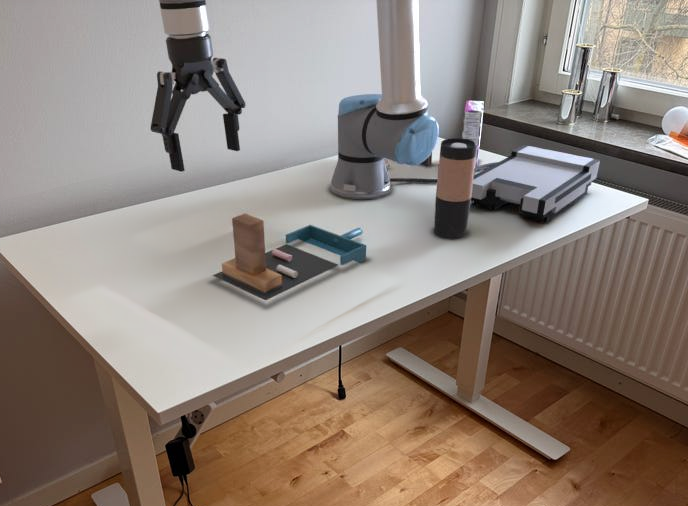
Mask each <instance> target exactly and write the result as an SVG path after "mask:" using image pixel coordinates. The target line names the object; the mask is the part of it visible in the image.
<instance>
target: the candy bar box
mask: <svg viewBox="0 0 688 506" xmlns="http://www.w3.org/2000/svg"><path fill="white" fill-rule="evenodd" d="M484 104H485V102H484V100H483V101H482V100H466V103H465V107H464V114H463V124H462V135H461V138H462V139H468V140H472V141H474V142H475V145H477V149H476V158H475V167H474V168H475V169H477V167H478V164H479V163H478V162H479V155H480V154H479V153H480V145H481V144H480V143H481V135H482V126H483V116H484Z"/></svg>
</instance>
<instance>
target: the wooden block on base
mask: <svg viewBox="0 0 688 506" xmlns="http://www.w3.org/2000/svg"><path fill="white" fill-rule="evenodd" d="M231 223H232V234H233V246H234V256H235V257H234V258H231V259H230V260H227V261H224V262H221V268H222V269H221V272H223V275H224V276H226V277H228V278H230V279H232V280H234V281H236V282H239V283H241V284H243V285H245V286H247V287H249V288H252V289H254V290H256V291H258V292H260V293H262V294H264V295H266V294H268V293H270V292H272V291H274V290H276V289H278V288H280V287H282V275H281V274H278V273H276V272H274V271H271V270H269V269H267V268H266V257H265V253H266V242H265V225H264V224H265V222H264V220H263V219H261V218H258V217H257V216H253V215H250V214H248V213H242V214H239V215H237V216H233V217H232V218H231Z"/></svg>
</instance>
